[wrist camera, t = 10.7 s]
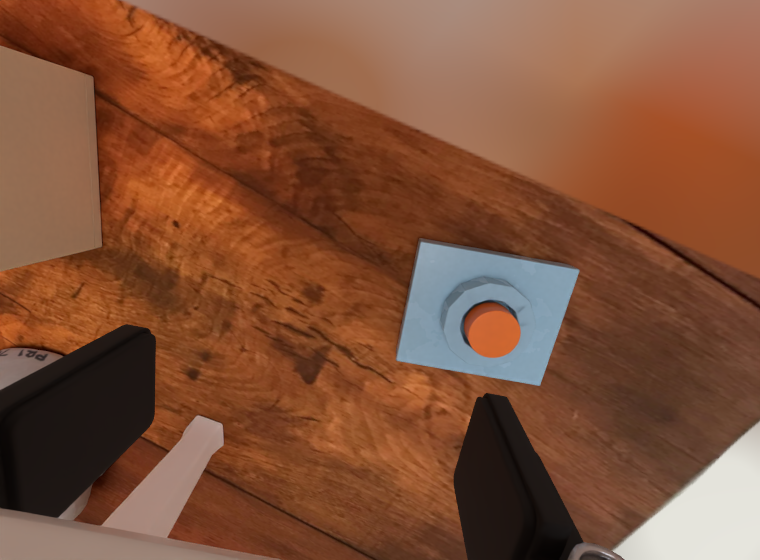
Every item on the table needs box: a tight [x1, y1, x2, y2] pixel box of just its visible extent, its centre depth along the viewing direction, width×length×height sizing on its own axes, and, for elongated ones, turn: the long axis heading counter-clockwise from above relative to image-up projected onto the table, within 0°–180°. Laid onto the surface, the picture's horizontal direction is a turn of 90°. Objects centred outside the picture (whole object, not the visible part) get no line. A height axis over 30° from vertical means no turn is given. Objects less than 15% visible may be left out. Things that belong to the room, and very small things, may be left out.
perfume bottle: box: [101, 415, 224, 538], centre depth 27 cm, size 5×4×15 cm
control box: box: [396, 238, 579, 386], centre depth 28 cm, size 10×12×4 cm
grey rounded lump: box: [0, 348, 92, 521], centre depth 31 cm, size 15×14×15 cm
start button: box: [464, 302, 521, 358], centre depth 25 cm, size 4×4×2 cm
